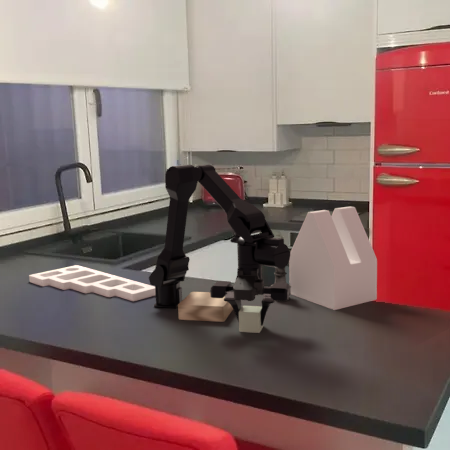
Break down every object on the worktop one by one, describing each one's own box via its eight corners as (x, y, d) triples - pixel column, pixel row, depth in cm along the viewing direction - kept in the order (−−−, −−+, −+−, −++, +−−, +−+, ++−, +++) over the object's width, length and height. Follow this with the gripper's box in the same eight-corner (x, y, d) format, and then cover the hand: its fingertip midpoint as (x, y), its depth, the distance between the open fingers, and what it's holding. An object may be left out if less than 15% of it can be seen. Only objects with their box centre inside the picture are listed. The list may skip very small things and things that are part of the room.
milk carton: (376, 299, 173) (377, 210, 168) (334, 310, 165) (334, 216, 161) (330, 285, 189) (329, 203, 185) (289, 294, 181) (288, 208, 177)
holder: (158, 296, 185) (157, 287, 184) (106, 310, 173) (106, 301, 172) (77, 272, 217) (77, 264, 216) (29, 283, 204) (28, 275, 204)
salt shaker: (274, 302, 173) (273, 260, 171) (267, 296, 179) (266, 256, 176) (294, 300, 174) (293, 258, 172) (286, 294, 180) (286, 254, 178)
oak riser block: (178, 319, 161) (178, 304, 161) (192, 305, 173) (191, 291, 172) (223, 321, 158) (223, 306, 158) (234, 307, 170) (234, 293, 169)
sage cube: (239, 331, 151) (238, 311, 150) (243, 324, 155) (243, 305, 155) (259, 332, 149) (259, 312, 149) (263, 325, 154) (263, 306, 153)
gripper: (202, 269, 144) (205, 334, 147) (283, 271, 140) (284, 338, 142) (215, 258, 155) (217, 318, 158) (290, 260, 150) (291, 322, 153)
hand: (251, 324), depth 152 cm, fingers closed on sage cube, 5 cm apart
